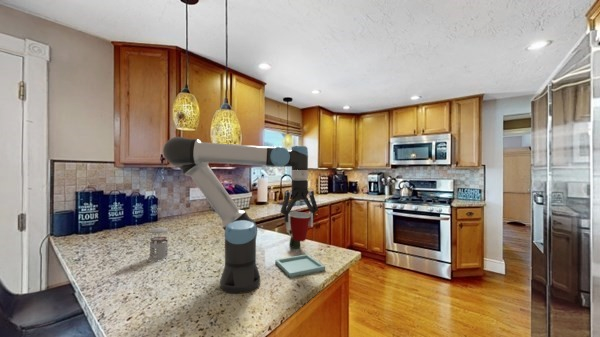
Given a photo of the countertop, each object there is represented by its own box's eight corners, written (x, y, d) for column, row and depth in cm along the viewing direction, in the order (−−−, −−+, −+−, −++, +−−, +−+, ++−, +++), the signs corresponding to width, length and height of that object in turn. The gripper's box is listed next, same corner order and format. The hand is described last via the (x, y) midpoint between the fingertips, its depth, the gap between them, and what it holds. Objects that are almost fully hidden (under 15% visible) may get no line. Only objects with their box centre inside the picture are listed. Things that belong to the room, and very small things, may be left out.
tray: (290, 277, 100) (290, 273, 100) (275, 263, 115) (275, 259, 115) (325, 270, 107) (325, 266, 107) (307, 257, 122) (307, 254, 122)
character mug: (283, 247, 138) (283, 225, 138) (289, 244, 144) (289, 222, 144) (301, 250, 133) (301, 226, 133) (306, 246, 140) (306, 224, 140)
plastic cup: (305, 244, 104) (305, 216, 104) (283, 241, 108) (283, 214, 109) (315, 238, 114) (315, 212, 114) (294, 235, 118) (294, 210, 118)
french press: (152, 263, 115) (152, 210, 115) (142, 257, 122) (142, 207, 122) (173, 257, 123) (173, 207, 123) (163, 252, 130) (163, 205, 130)
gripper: (279, 180, 103) (279, 232, 103) (325, 179, 113) (325, 226, 113) (273, 179, 109) (272, 228, 109) (317, 178, 120) (317, 223, 120)
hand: (299, 227), depth 111 cm, fingers closed on plastic cup, 11 cm apart
